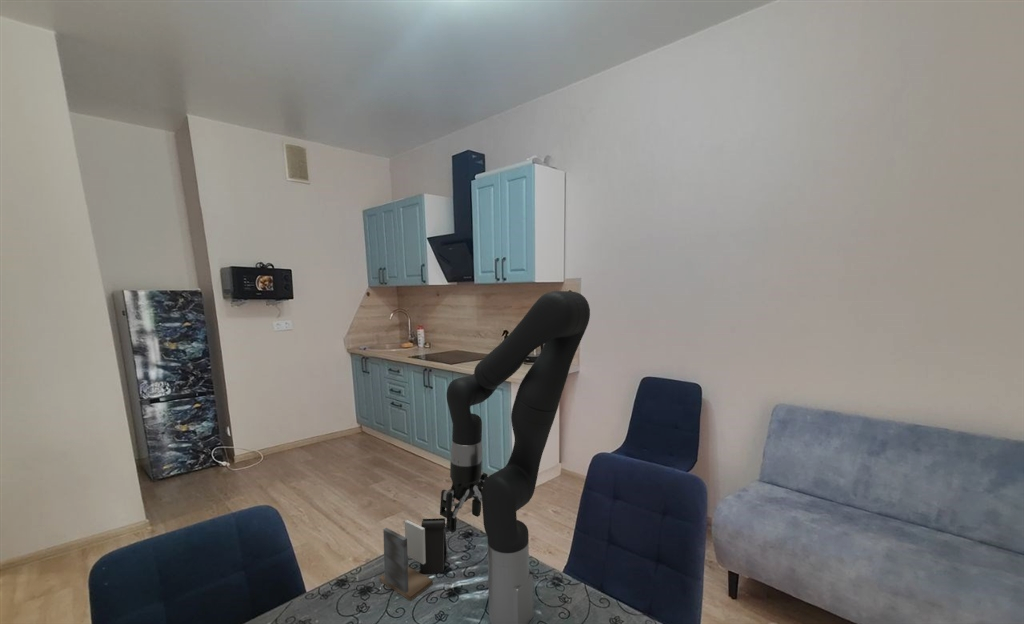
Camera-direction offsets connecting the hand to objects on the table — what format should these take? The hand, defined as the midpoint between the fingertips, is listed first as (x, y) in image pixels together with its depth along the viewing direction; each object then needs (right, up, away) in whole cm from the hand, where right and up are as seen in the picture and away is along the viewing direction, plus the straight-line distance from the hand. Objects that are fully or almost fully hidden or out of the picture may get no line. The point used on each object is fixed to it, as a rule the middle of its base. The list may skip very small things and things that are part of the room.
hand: (464, 522), depth 98 cm
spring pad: (-14, -16, +7) cm, 23 cm away
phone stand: (-10, -17, +12) cm, 23 cm away
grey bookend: (-15, -17, +4) cm, 24 cm away
